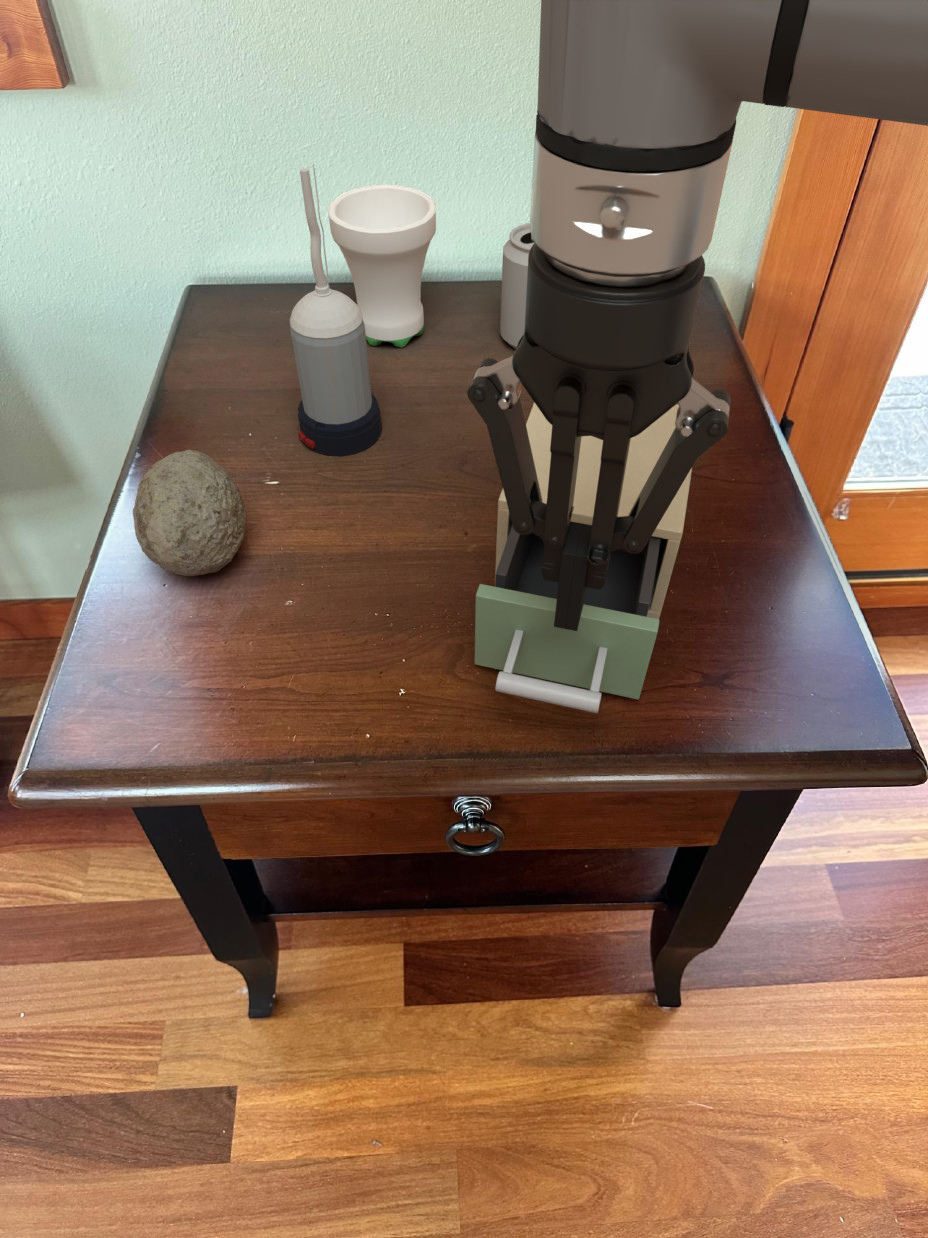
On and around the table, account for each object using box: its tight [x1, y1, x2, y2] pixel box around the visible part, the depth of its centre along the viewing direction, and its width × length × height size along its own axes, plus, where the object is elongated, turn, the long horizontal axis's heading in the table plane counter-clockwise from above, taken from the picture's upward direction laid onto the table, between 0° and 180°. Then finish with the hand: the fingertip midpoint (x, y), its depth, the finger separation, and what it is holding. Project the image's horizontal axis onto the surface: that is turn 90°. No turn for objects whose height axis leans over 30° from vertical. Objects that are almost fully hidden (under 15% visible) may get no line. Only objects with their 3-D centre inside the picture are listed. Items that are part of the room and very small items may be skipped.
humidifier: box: [289, 163, 383, 457], centre depth 75 cm, size 8×8×25 cm
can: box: [499, 222, 535, 350], centre depth 91 cm, size 8×8×12 cm
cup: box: [327, 184, 437, 348], centre depth 91 cm, size 11×11×14 cm
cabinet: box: [494, 401, 693, 620], centre depth 70 cm, size 16×14×10 cm
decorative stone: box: [132, 448, 247, 577], centre depth 69 cm, size 10×8×10 cm
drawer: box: [474, 521, 661, 714], centre depth 63 cm, size 20×13×8 cm, turn 165°
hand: (569, 613), depth 53 cm, fingers closed
